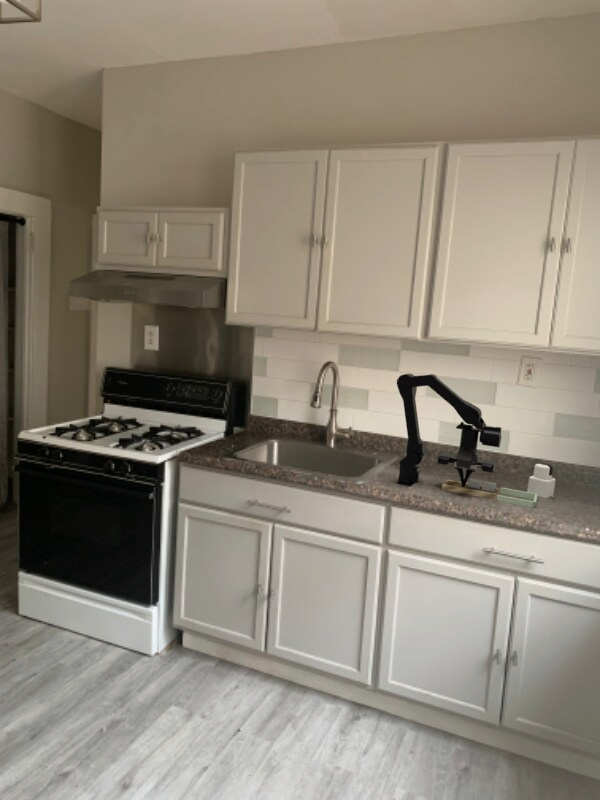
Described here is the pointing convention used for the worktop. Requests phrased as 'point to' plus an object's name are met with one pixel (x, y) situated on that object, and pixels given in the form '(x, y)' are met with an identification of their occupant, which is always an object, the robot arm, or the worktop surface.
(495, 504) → the worktop surface
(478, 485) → the grey cube
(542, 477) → the medicine bottle
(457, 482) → the wooden tray
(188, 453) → the worktop surface
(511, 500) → the green tray
